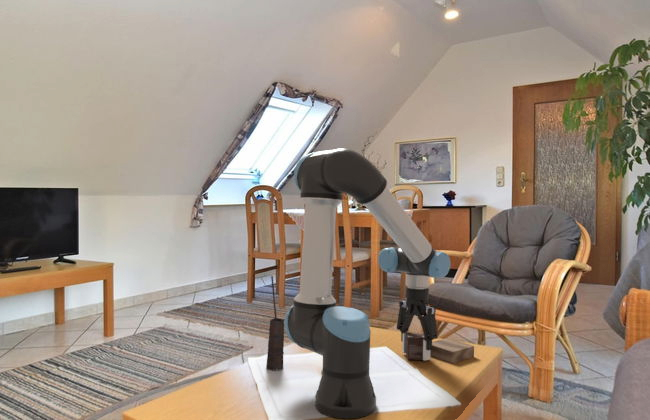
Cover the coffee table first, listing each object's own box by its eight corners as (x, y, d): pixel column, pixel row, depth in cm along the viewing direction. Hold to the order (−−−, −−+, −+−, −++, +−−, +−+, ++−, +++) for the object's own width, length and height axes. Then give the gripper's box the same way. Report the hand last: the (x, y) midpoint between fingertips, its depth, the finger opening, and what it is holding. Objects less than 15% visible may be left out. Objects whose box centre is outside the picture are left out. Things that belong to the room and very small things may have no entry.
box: (423, 354, 152) (424, 332, 152) (426, 360, 146) (426, 337, 146) (405, 353, 153) (405, 331, 153) (406, 359, 147) (407, 336, 147)
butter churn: (299, 366, 140) (300, 276, 140) (280, 376, 132) (281, 280, 132) (277, 360, 145) (278, 273, 145) (256, 369, 137) (257, 276, 137)
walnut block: (452, 364, 145) (453, 352, 144) (426, 355, 153) (426, 343, 153) (473, 358, 151) (474, 346, 151) (447, 349, 160) (447, 338, 160)
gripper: (450, 290, 143) (449, 362, 143) (401, 281, 160) (400, 345, 160) (435, 293, 139) (433, 367, 139) (386, 283, 155) (385, 349, 156)
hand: (415, 355), depth 149 cm, fingers closed on box, 8 cm apart
